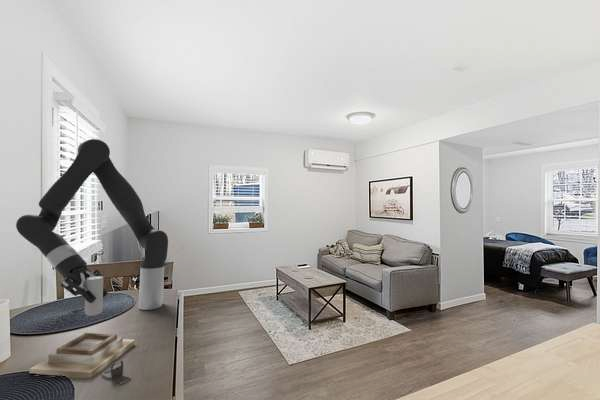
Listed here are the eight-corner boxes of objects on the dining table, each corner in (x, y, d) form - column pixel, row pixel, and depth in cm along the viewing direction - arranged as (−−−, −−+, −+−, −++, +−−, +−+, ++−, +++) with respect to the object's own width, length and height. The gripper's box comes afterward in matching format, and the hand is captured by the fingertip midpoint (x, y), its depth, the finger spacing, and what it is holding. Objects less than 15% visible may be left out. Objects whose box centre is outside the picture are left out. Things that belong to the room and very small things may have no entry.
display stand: (85, 341, 90) (86, 326, 90) (134, 344, 89) (135, 329, 89) (29, 374, 72) (30, 356, 72) (90, 378, 71) (91, 359, 71)
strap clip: (100, 377, 73) (101, 360, 73) (112, 371, 75) (113, 354, 75) (119, 387, 69) (120, 370, 69) (132, 381, 71) (133, 364, 71)
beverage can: (92, 317, 92) (94, 280, 93) (80, 315, 93) (82, 279, 94) (105, 311, 97) (107, 276, 97) (94, 310, 98) (95, 275, 98)
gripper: (55, 257, 89) (91, 297, 88) (91, 250, 103) (121, 284, 102) (38, 273, 89) (73, 314, 88) (76, 264, 103) (107, 299, 103)
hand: (99, 298), depth 95 cm, fingers closed on beverage can, 4 cm apart
